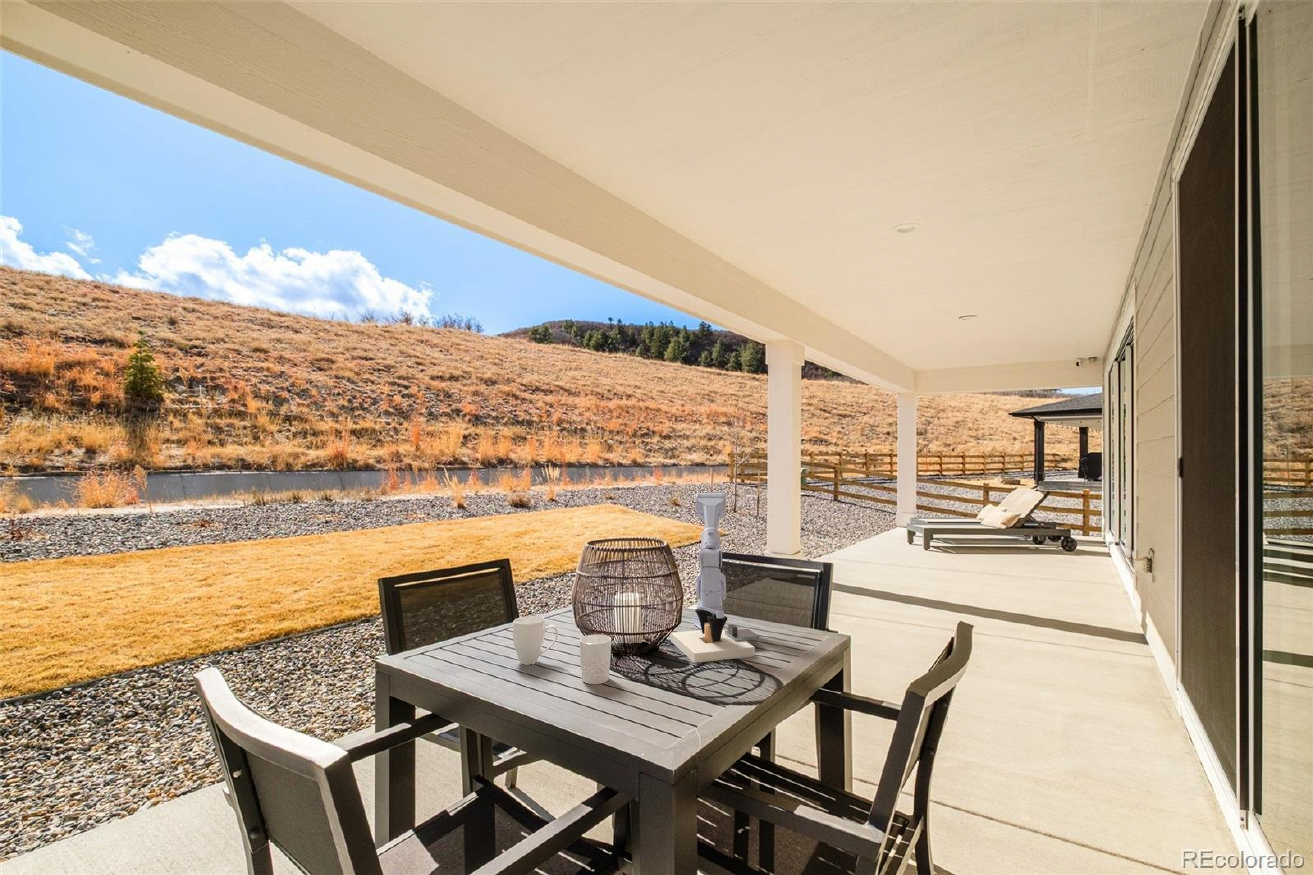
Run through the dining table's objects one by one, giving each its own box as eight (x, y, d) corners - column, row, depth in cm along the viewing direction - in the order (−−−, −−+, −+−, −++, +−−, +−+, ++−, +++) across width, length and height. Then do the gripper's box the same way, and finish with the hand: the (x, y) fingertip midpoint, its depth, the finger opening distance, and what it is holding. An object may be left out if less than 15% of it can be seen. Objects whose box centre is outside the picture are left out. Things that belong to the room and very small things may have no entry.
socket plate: (670, 641, 179) (670, 632, 179) (725, 635, 184) (725, 627, 185) (694, 662, 160) (694, 653, 160) (754, 656, 165) (754, 647, 165)
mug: (509, 668, 156) (509, 624, 156) (516, 657, 164) (517, 615, 165) (555, 667, 156) (555, 624, 156) (559, 657, 164) (560, 615, 165)
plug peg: (703, 646, 174) (703, 618, 174) (716, 646, 174) (716, 617, 175) (706, 651, 170) (706, 622, 170) (719, 650, 170) (719, 621, 171)
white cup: (617, 677, 149) (617, 637, 150) (598, 687, 142) (599, 645, 143) (592, 671, 153) (592, 632, 154) (572, 681, 146) (573, 640, 147)
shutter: (725, 633, 178) (724, 622, 178) (748, 631, 180) (747, 620, 180) (735, 641, 171) (735, 629, 171) (759, 638, 173) (759, 627, 173)
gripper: (689, 585, 179) (689, 631, 178) (707, 596, 165) (707, 646, 164) (710, 584, 181) (711, 629, 180) (730, 594, 167) (731, 643, 166)
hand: (710, 637), depth 172 cm, fingers open, 7 cm apart
